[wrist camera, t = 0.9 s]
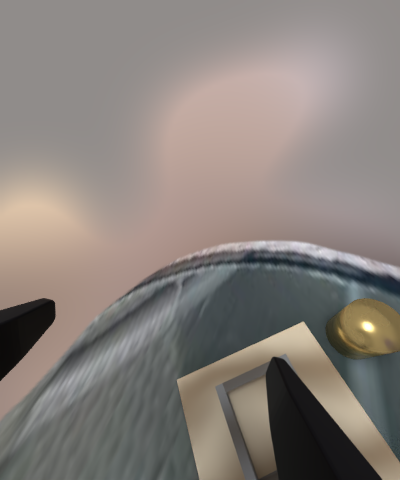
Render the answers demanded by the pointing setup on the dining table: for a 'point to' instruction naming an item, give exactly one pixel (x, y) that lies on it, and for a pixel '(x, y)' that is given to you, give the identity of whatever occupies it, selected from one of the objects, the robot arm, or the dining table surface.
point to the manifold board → (256, 409)
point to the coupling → (365, 329)
